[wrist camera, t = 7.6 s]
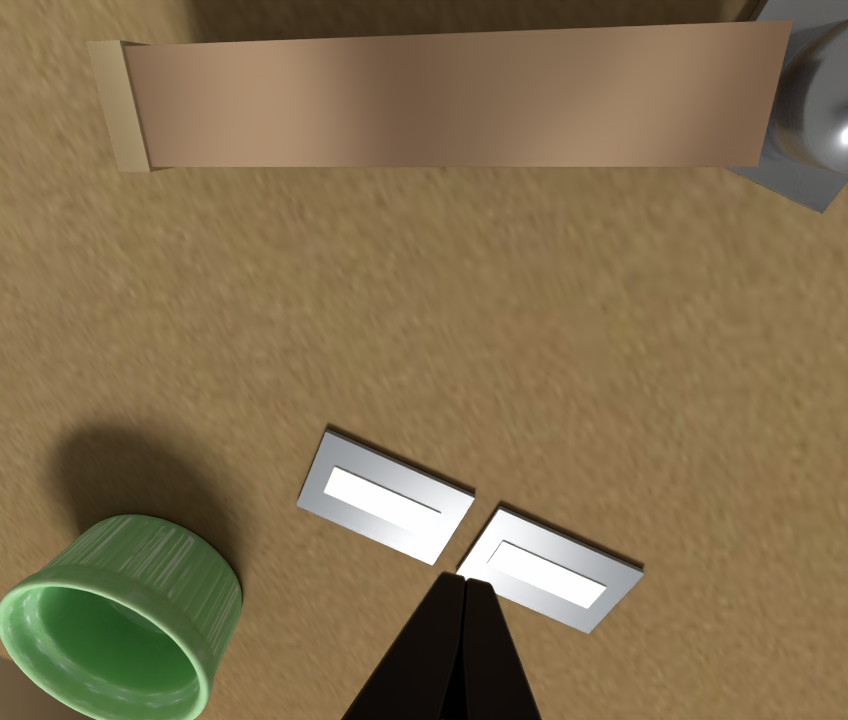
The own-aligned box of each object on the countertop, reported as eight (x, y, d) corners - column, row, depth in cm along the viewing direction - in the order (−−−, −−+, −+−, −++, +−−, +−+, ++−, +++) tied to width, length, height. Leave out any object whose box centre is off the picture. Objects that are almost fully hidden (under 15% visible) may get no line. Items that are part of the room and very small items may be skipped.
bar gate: (740, 30, 11) (797, 12, 9) (714, 159, 12) (758, 172, 10) (160, 52, 13) (85, 41, 11) (182, 161, 15) (118, 171, 12)
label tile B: (475, 494, 20) (474, 499, 19) (433, 561, 21) (432, 566, 21) (327, 428, 19) (324, 432, 19) (297, 501, 21) (295, 506, 21)
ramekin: (227, 664, 27) (179, 758, 23) (65, 589, 27) (-13, 672, 23) (280, 559, 23) (232, 652, 19) (91, 468, 23) (1, 545, 19)
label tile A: (643, 569, 20) (644, 575, 20) (587, 629, 22) (588, 635, 21) (499, 505, 20) (499, 510, 19) (455, 571, 21) (454, 576, 21)
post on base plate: (938, 43, 12) (1110, 19, 8) (810, 209, 14) (908, 245, 10) (781, -36, 12) (891, -93, 8) (673, 143, 14) (726, 157, 10)
